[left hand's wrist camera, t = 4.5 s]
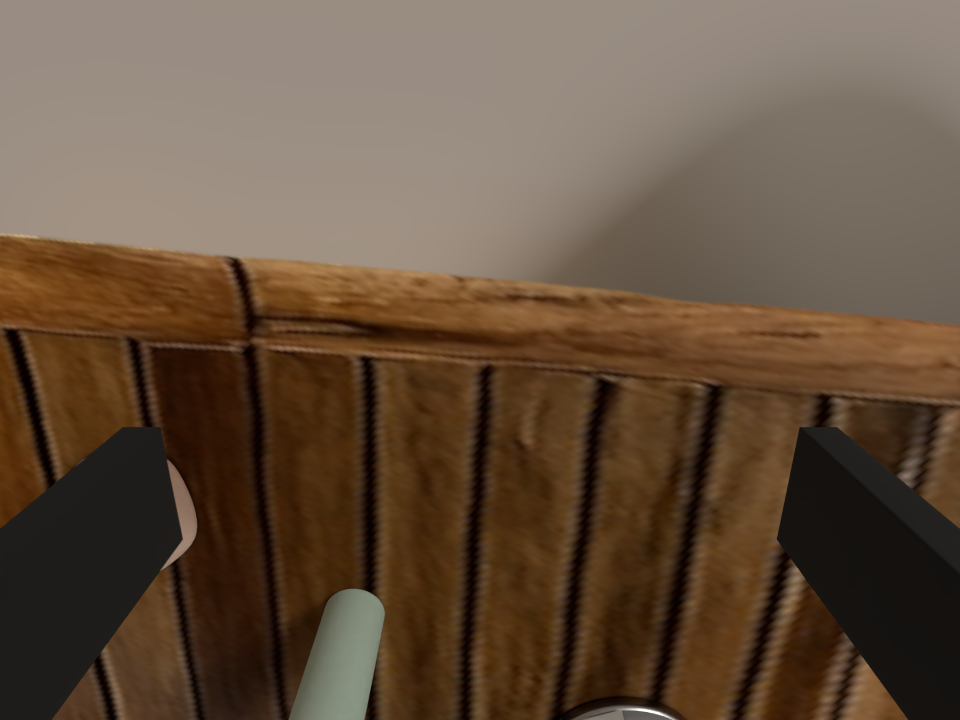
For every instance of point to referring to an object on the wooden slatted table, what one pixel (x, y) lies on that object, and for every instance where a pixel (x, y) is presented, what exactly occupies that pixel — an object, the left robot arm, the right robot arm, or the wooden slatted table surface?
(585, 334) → the wooden slatted table surface
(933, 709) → the left robot arm
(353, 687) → the bottle
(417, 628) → the wooden slatted table surface
